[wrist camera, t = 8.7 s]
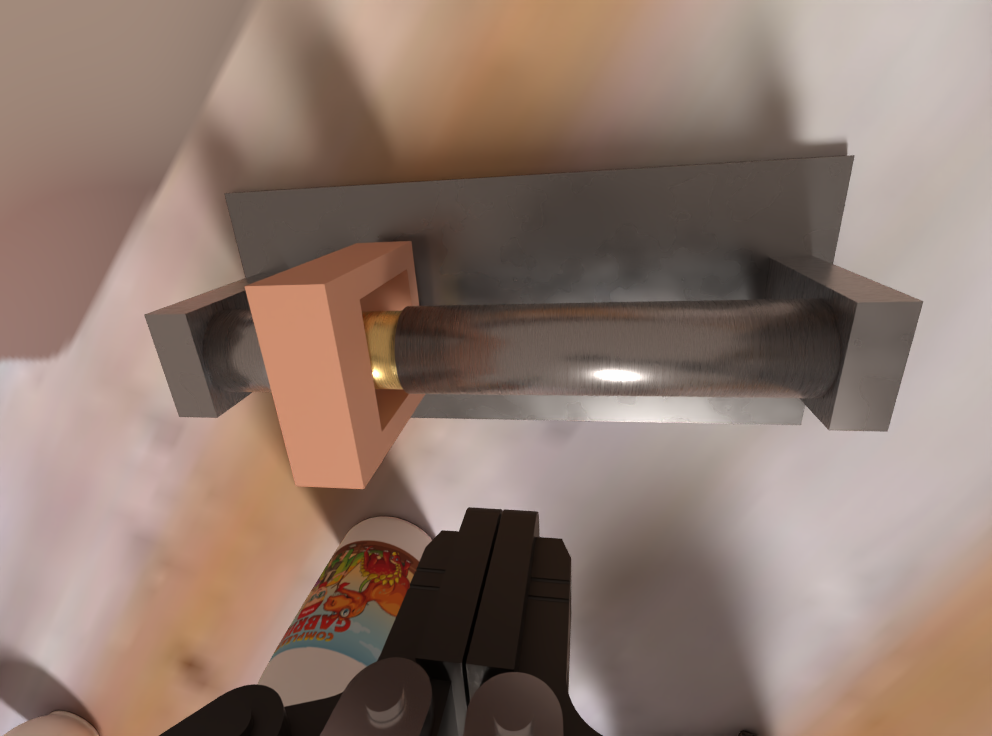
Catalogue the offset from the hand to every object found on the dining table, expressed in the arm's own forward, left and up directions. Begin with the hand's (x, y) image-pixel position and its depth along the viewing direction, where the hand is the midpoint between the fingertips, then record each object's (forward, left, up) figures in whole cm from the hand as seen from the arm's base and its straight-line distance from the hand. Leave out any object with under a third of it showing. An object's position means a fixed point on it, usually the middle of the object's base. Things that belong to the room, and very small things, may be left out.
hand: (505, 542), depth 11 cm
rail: (+2, 0, -19) cm, 19 cm away
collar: (+8, 0, -17) cm, 19 cm away
